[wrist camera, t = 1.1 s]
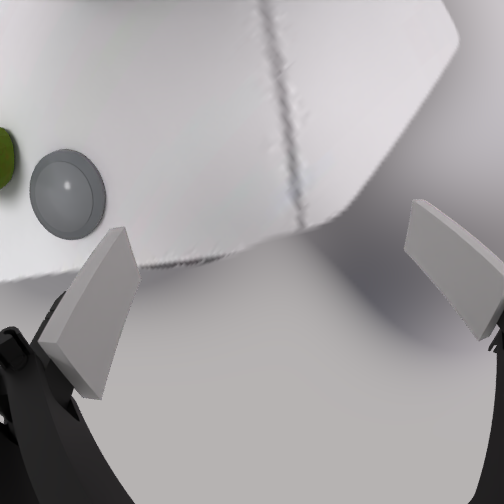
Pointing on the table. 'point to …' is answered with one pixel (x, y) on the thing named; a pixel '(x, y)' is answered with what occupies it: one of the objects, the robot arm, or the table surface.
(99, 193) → the slate plate
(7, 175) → the apple
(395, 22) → the table surface
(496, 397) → the robot arm
